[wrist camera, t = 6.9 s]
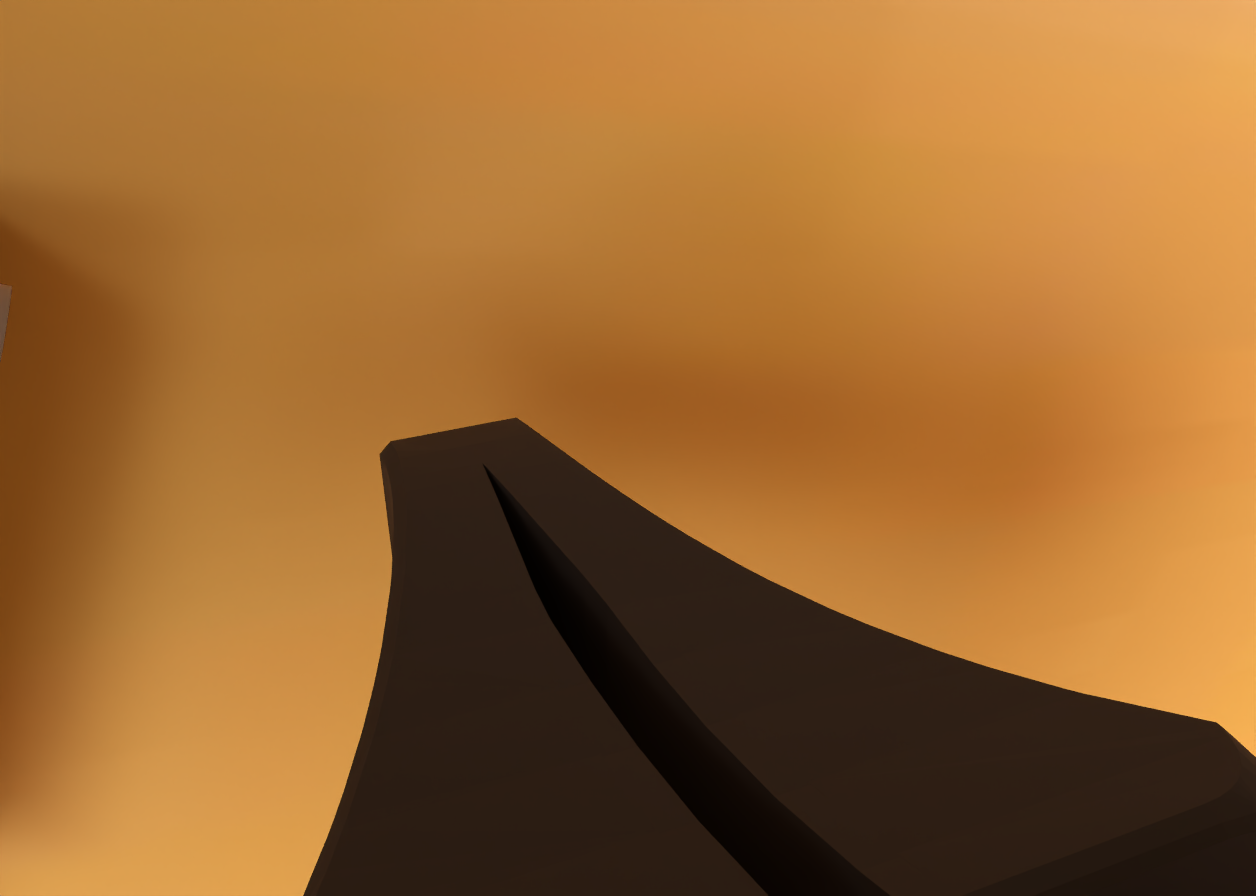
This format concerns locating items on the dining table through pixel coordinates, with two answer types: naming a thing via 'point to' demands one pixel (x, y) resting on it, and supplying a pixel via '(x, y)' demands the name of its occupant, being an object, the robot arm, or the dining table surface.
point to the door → (4, 312)
